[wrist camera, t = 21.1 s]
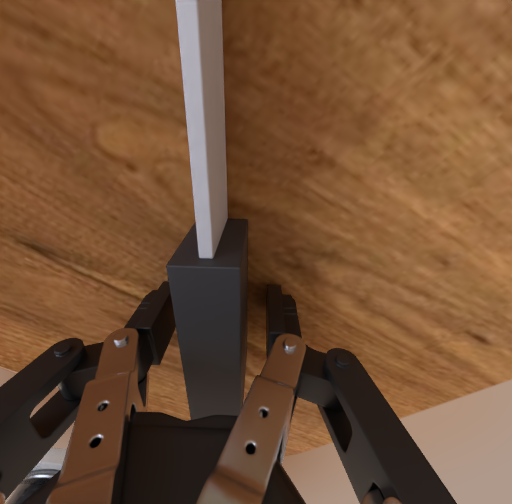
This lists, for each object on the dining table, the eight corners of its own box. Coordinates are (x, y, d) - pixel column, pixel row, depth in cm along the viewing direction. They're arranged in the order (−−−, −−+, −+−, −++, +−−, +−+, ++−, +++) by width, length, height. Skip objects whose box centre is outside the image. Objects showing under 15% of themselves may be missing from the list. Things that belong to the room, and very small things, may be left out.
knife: (251, -160, 7) (236, -533, 3) (246, 352, 16) (241, 428, 12) (164, -161, 7) (34, -535, 3) (209, 351, 16) (191, 426, 12)
